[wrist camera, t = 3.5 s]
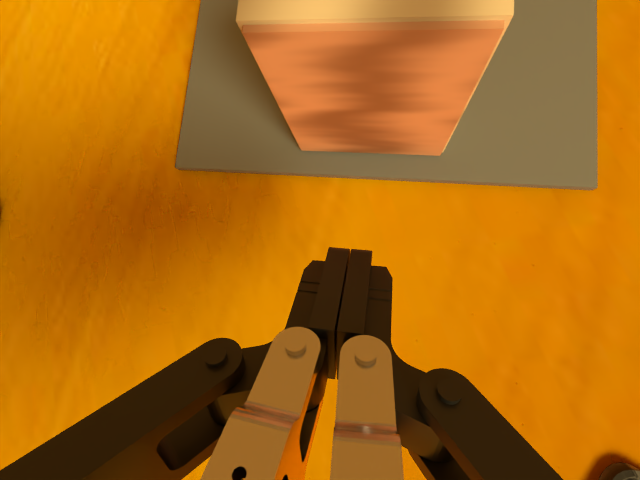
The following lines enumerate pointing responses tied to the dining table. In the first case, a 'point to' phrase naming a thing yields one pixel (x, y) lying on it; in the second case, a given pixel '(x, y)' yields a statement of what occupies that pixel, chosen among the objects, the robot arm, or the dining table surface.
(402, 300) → the dining table surface
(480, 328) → the dining table surface
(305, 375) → the robot arm
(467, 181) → the mat
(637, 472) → the phone
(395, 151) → the tan wooden block
